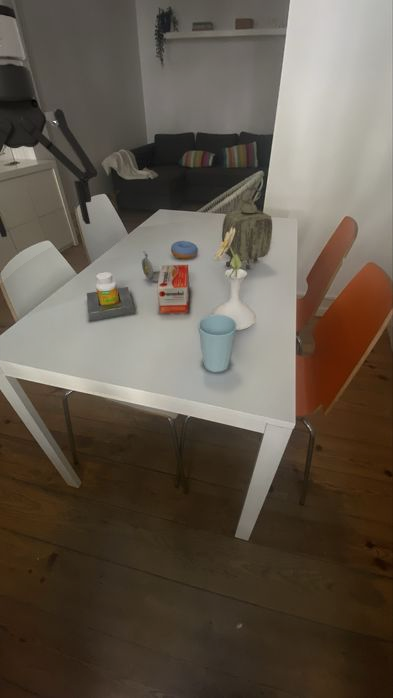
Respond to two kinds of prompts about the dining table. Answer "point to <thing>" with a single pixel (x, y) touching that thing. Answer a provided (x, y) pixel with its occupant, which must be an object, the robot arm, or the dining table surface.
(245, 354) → the dining table surface
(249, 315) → the flower in vase
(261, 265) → the dining table surface
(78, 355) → the dining table surface
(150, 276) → the pocket watch
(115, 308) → the bottle stand
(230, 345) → the cup
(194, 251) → the doughnut
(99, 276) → the supplement bottle
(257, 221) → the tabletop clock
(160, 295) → the medicine box
